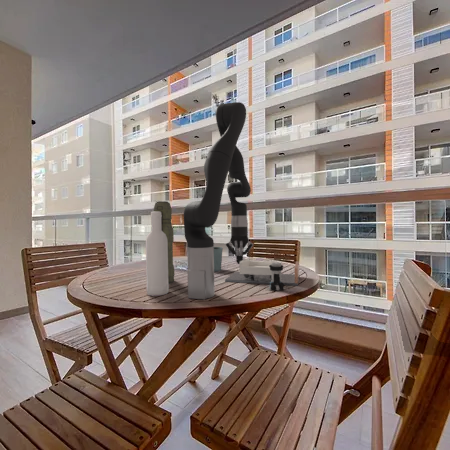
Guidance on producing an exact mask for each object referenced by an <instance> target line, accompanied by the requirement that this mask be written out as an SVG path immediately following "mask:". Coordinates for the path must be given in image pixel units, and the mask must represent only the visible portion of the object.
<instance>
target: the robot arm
mask: <svg viewBox="0 0 450 450" xmlns="http://www.w3.org/2000/svg"><path fill="white" fill-rule="evenodd" d="M246 119H247V108H246V105H245V104H244V103H242V102H240V101H239V102H237V101H236V102H235V101H234V102H228V103H221V104H218V105H217V106H216V109H215V120H216V125H217V128H218V129H217V130H218V133H219V135H220V137H219V138H217V140H216V141H215V142H214V143H213V144H212V145H211V147H210V148H209V150H208V151H207V154H206V158H205V161H204V166H203V173H204V177H205V184H206V185H205V190H204V193H203V196H202V198H201V200H197V201H191V202H189V203H187V204H186V206H185V208H184V210H183V229H184V230H183V231H184V239H185V241H186V243H187V244H186V246H187V299H197V300H206V299H210V298H212V297H214V296H215V272H214V247H215V246H214V245H215V244H214V238H213V237H211V236H210V235H209V234H208V233H207V231H206V228H210V227H212V226H214V225H215V223H216V222H217V219H218V217H219V212H220V207H221V201H222V196H223V192H224V188H225V185H226V181H227V176H229V178H231V179H233V180H238V181H232V182H229V183H228V185H227V187H226V191H227V196H228V198H229V203H230V207H231V211H230V213H231V220H230V233H231V236H230V238H229V240H230V241H228V242H227V243H226V244H225V246H226V247H227V248H228V250H229V251H230V253H231V254H232V255H235V256H236V259H235V260H236V261H235V262H236V263H237V265H239V262H240V261H242V260H243V259H244V255H247V254H248V253H249V251H250V250H251V249H252V247H253V246H254V243H252V241H250V240H249V237H248V236H249V233H248V232H249V230H248V227H249V225H248V209H247V208H248V207H247V203H246V202H241V201H240V202H239V201H238V200H237V199H236V198H248V197H249V196H250V194H251V191H252V190H251V185H250V182H249V180H248V178H247V175H246V171H245V164H244V163H245V162H244V157H243V155H242V151H241V150H240V149H239V147H238V146H237V143H238V140H239V138H240V136H241V133H242V131H243V128H244V126H245V122H246ZM246 246H247V247H246ZM245 247H246V248H245Z"/></svg>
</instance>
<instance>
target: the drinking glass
mask: <svg viewBox="0 0 450 450" xmlns="http://www.w3.org/2000/svg"><path fill="white" fill-rule="evenodd" d="M223 249H224V248H223V247H220V246H214V273H215V272H221V270H222V262H223Z"/></svg>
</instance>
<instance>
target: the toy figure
mask: <svg viewBox="0 0 450 450" xmlns="http://www.w3.org/2000/svg"><path fill="white" fill-rule="evenodd" d="M272 262H273V263H271V265H269V267H270V270H272V280H271V282H270V284H268V287H266V288H265V289H266V290H268V289H269V290H271V291H284V290H285V289H284V286H285V285H284V284H283V283H282V280H281V274H282V271H283V270H284V265H282V262H281V263H279V262H280V261H272Z"/></svg>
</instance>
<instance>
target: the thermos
mask: <svg viewBox="0 0 450 450" xmlns="http://www.w3.org/2000/svg"><path fill="white" fill-rule="evenodd" d="M172 211H173V209H172V206H171V203H170V201H167V200H166V201H165V200H163V201H162V200H161V201H159V200H158V201H155V203H154V205H153V212H161V215H162V217H161V227H162V231H163V232H164V233H165V234H166V237H167V241H168V283H169V284H173V283H174V282H175V266H174V249H173V243H174V241H175V239H174V227H173V223H172V218H173V216H172V214H173V213H172Z"/></svg>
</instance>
